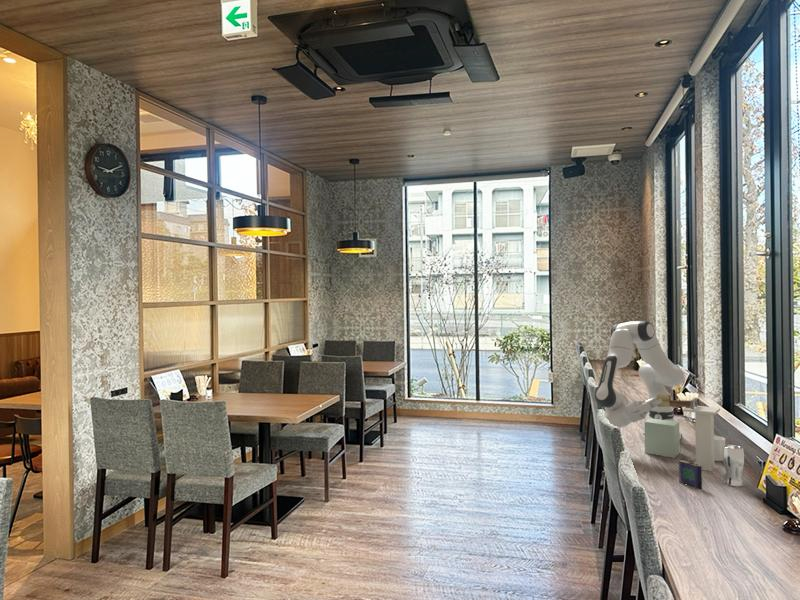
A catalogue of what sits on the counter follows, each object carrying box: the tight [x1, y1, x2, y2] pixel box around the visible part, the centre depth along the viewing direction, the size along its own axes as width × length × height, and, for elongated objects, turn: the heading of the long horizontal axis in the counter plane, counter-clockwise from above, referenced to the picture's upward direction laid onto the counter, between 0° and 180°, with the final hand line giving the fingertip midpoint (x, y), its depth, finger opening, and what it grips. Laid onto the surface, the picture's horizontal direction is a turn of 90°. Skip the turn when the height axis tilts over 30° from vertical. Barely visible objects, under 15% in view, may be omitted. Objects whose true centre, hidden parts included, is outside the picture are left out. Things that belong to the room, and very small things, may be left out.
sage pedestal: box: [644, 418, 681, 459], centre depth 253 cm, size 10×13×15 cm
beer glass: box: [723, 444, 745, 488], centre depth 209 cm, size 7×7×15 cm
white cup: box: [714, 435, 726, 462], centre depth 243 cm, size 8×8×10 cm
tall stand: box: [683, 397, 721, 472], centre depth 231 cm, size 12×12×30 cm
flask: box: [678, 458, 703, 490], centre depth 209 cm, size 9×3×11 cm, turn 26°
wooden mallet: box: [657, 393, 691, 408], centre depth 238 cm, size 5×13×5 cm, turn 50°
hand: (664, 399), depth 241 cm, fingers closed on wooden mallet, 5 cm apart
